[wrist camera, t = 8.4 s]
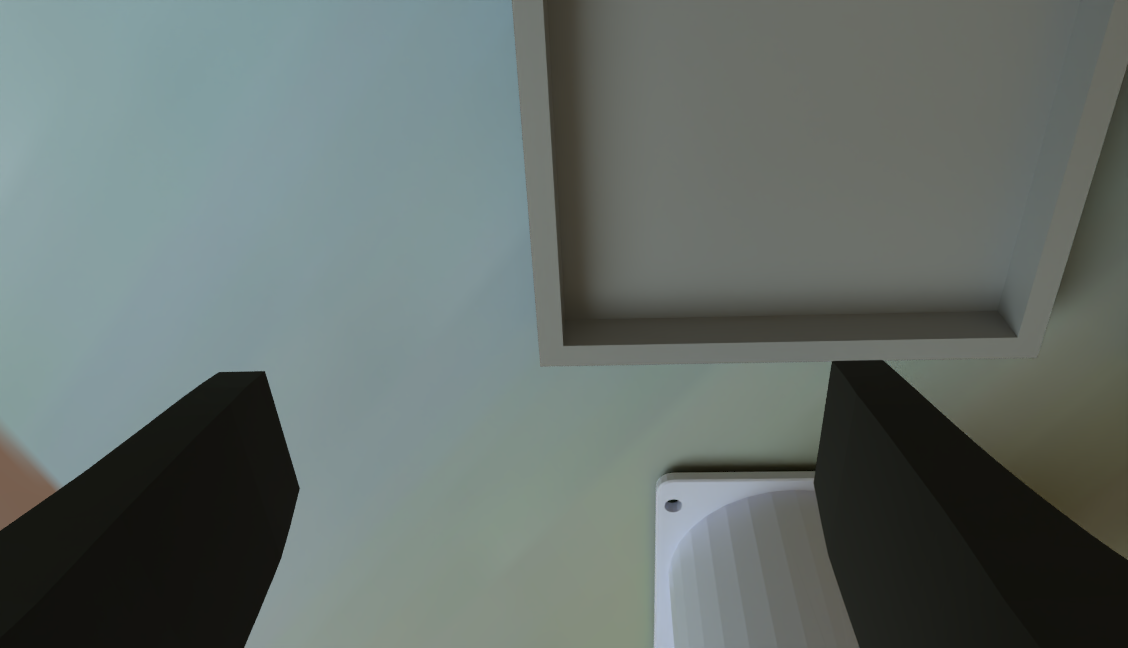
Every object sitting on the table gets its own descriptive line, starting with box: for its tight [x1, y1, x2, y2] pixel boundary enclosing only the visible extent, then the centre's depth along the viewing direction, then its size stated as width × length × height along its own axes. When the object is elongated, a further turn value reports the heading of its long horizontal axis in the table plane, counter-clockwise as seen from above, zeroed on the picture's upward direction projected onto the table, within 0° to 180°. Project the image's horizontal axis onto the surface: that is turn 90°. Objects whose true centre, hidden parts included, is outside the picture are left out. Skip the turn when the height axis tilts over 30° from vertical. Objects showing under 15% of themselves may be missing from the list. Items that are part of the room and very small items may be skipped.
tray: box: [512, 0, 1128, 367], centre depth 18 cm, size 12×12×2 cm
